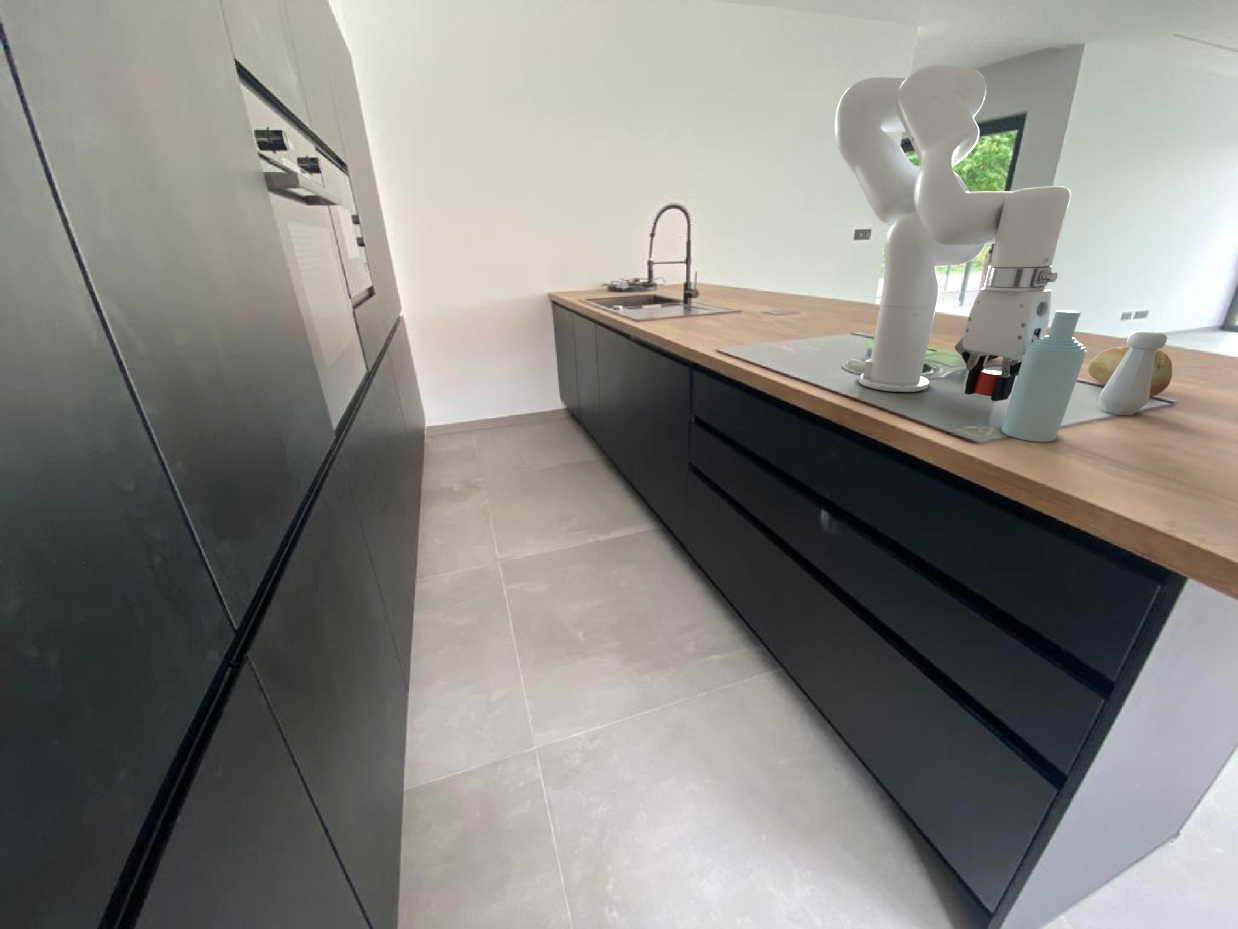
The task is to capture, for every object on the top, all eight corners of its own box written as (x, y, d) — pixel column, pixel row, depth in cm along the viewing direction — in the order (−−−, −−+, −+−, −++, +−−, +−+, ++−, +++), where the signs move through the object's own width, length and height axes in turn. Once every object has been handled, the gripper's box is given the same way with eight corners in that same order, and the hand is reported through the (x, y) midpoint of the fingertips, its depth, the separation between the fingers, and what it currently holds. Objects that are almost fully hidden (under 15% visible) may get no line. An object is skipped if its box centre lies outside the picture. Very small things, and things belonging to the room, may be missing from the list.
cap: (996, 397, 81) (1003, 375, 79) (970, 392, 83) (976, 371, 82) (1005, 394, 83) (1012, 373, 81) (979, 390, 86) (986, 369, 84)
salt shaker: (1151, 417, 80) (1187, 335, 75) (1109, 416, 81) (1142, 335, 76) (1126, 406, 85) (1157, 328, 80) (1087, 405, 86) (1115, 328, 81)
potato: (1126, 379, 99) (1142, 339, 96) (1182, 402, 86) (1203, 356, 83) (1069, 378, 101) (1083, 338, 98) (1115, 400, 88) (1133, 355, 85)
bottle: (1006, 438, 75) (1045, 314, 67) (997, 424, 80) (1032, 307, 72) (1062, 444, 72) (1108, 315, 64) (1048, 429, 77) (1090, 308, 70)
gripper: (1096, 280, 70) (1055, 406, 77) (980, 276, 84) (955, 382, 92) (1060, 283, 67) (1022, 413, 75) (947, 278, 82) (924, 388, 89)
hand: (985, 395), depth 83 cm, fingers closed on cap, 3 cm apart
